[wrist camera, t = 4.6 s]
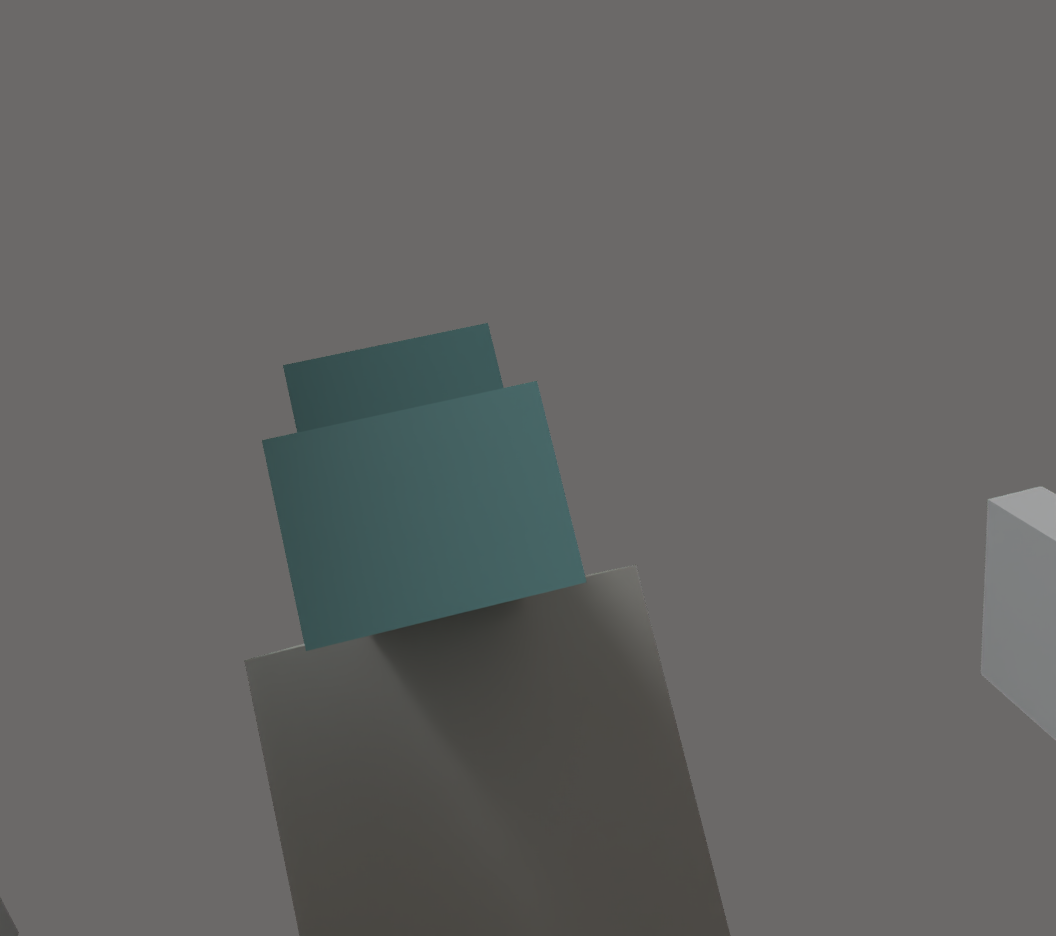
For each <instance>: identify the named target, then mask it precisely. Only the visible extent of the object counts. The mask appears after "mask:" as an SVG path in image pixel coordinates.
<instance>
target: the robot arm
mask: <svg viewBox="0 0 1056 936" xmlns="http://www.w3.org/2000/svg"><path fill="white" fill-rule="evenodd" d="M987 509H988V510H987V532H986V533H987V534H986V558H985V559H986V560H985V582H984V606H983V631H982V656H981V675H983V677H985V678H986V679H987V680H988V681H989V682H990V683H991V684H993V685H994V686H995V687H996V688H997V689H998V690H999V691H1000V692H1001V693H1003V694H1004V695H1005V696H1006V697H1007V698H1008V699H1009V700H1011V701H1012V702H1013V703H1014V704H1015V705H1016V706H1017V707H1019V708H1020V709H1021V710H1022V711H1023V712H1024V713H1025V714H1026V715H1027V716H1029V717H1030V718H1031V719H1032V720H1033V721H1034V722H1035V723H1036V724H1038V725H1039V726H1040V727H1041V728H1042V729H1043V730H1044V731H1045V732H1047V733H1048V734H1049V735H1050V736H1051V737H1052V738H1053V739H1054V740H1056V494H1055V493H1053V492H1051V491H1049V490H1047V489H1045V488H1044V487H1041V486H1040V487H1036V488H1033V489H1028V490H1024V491H1020V492H1016V493H1012V494H1008V495H1004V496H1000V497H996V498H991V499H988V508H987ZM18 933H19V932H18V930H17V928H16V927H15V925H14V923H13V921H12V919H11V917H10V915H9V913H8V911H7V909H6V908H5V905H4V904H3V902H2V900H1V898H0V936H18Z"/></svg>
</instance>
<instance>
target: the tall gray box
mask: <svg viewBox="0 0 1056 936" xmlns="http://www.w3.org/2000/svg"><path fill="white" fill-rule="evenodd" d="M585 578H586V583H582V584H578V585H574V586H570V587H566V588H561V589H557V590H553V591H549V592H545V593H541V594H537V595H533V596H529V597H525V598H521V599H517V600H513V601H508V602H504V603H500V604H496V605H492V606H488V607H484V608H480V609H476V610H472V611H468V612H464V613H459V614H455V615H451V616H447V617H443V618H439V619H435V620H431V621H427V622H423V623H419V624H415V625H411V626H406V627H402V628H398V629H394V630H390V631H386V632H382V633H378V634H374V635H370V636H366V637H362V638H357V639H353V640H349V641H345V642H341V643H337V644H333V645H329V646H325V647H321V648H317V649H313V650H309V651H306V649H305V644H301V645H298V646H294V647H291V648H287V649H284V650H280V651H276V652H273V653H269V654H266V655H262V656H259V657H255V658H251V659H248V660H245V666H246V671H247V676H248V681H249V686H250V691H251V696H252V701H253V706H254V711H255V716H256V721H257V725H258V731H259V736H260V741H261V746H262V751H263V755H264V761H265V766H266V771H267V776H268V781H269V786H270V791H271V796H272V801H273V806H274V811H275V816H276V821H277V826H278V831H279V836H280V841H281V846H282V850H283V855H284V861H285V866H286V870H287V876H288V880H289V885H290V891H291V896H292V901H293V906H294V910H295V915H296V921H297V925H298V930H299V935H300V936H730V933H729V929H728V925H727V921H726V917H725V913H724V909H723V905H722V901H721V897H720V893H719V889H718V886H717V881H716V878H715V874H714V870H713V866H712V862H711V858H710V854H709V851H708V846H707V842H706V838H705V834H704V830H703V826H702V823H701V818H700V815H699V811H698V807H697V803H696V799H695V795H694V791H693V787H692V783H691V779H690V775H689V771H688V767H687V763H686V760H685V756H684V752H683V748H682V744H681V740H680V736H679V732H678V728H677V724H676V720H675V717H674V712H673V709H672V705H671V701H670V697H669V693H668V689H667V685H666V681H665V677H664V673H663V669H662V665H661V661H660V657H659V653H658V650H657V646H656V642H655V638H654V634H653V630H652V626H651V622H650V619H649V614H648V610H647V606H646V603H645V599H644V595H643V591H642V587H641V583H640V579H639V575H638V571H637V567H636V565H633V566H629V567H623V568H618V569H613V570H609V571H604V572H599V573H594V574H589V575H585Z"/></svg>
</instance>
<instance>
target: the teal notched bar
mask: <svg viewBox="0 0 1056 936" xmlns="http://www.w3.org/2000/svg"><path fill="white" fill-rule="evenodd" d="M283 368H284V372H285V377H286V382H287V386H288V390H289V396H290V400H291V405H292V410H293V414H294V419H295V424H296V428H297V433H294V434H289V435H285V436H280V437H276V438H271V439H266V440H262V443H263V448H264V453H265V457H266V462H267V467H268V471H269V477H270V481H271V486H272V491H273V495H274V500H275V505H276V510H277V515H278V519H279V524H280V529H281V534H282V539H283V543H284V548H285V553H286V558H287V563H288V568H289V572H290V577H291V582H292V587H293V591H294V596H295V601H296V606H297V610H298V615H299V620H300V625H301V630H302V635H303V639H304V644H305V649H306V651H309V650H313V649H317V648H321V647H325V646H329V645H333V644H337V643H341V642H345V641H349V640H353V639H357V638H362V637H366V636H370V635H374V634H378V633H382V632H386V631H390V630H394V629H398V628H402V627H406V626H411V625H415V624H419V623H423V622H427V621H431V620H435V619H439V618H443V617H447V616H451V615H455V614H459V613H464V612H468V611H472V610H476V609H480V608H484V607H488V606H492V605H496V604H500V603H504V602H508V601H513V600H517V599H521V598H525V597H529V596H533V595H537V594H541V593H545V592H549V591H553V590H557V589H561V588H566V587H570V586H574V585H578V584H582V583H586V578H585V574H584V570H583V566H582V562H581V558H580V553H579V550H578V545H577V541H576V538H575V534H574V529H573V525H572V521H571V517H570V514H569V509H568V505H567V501H566V497H565V493H564V489H563V485H562V481H561V477H560V473H559V469H558V465H557V460H556V456H555V452H554V448H553V445H552V440H551V436H550V433H549V428H548V424H547V420H546V416H545V412H544V408H543V404H542V400H541V396H540V392H539V388H538V384H537V381H534V382H530V383H525V384H520V385H516V386H511V387H507V388H503V384H502V380H501V376H500V372H499V367H498V363H497V359H496V355H495V351H494V347H493V343H492V339H491V335H490V330H489V326H488V323H486V324H481V325H476V326H471V327H466V328H461V329H456V330H452V331H447V332H442V333H437V334H433V335H427V336H423V337H418V338H413V339H408V340H403V341H398V342H394V343H389V344H384V345H379V346H375V347H369V348H365V349H360V350H355V351H350V352H345V353H341V354H336V355H331V356H326V357H321V358H317V359H311V360H307V361H302V362H297V363H292V364H287V365H283Z"/></svg>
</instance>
